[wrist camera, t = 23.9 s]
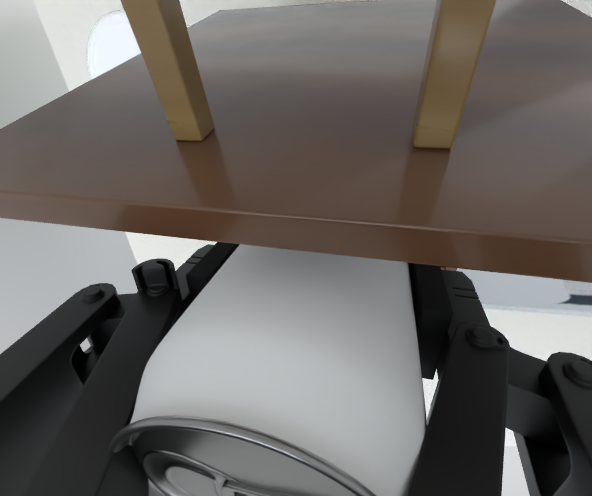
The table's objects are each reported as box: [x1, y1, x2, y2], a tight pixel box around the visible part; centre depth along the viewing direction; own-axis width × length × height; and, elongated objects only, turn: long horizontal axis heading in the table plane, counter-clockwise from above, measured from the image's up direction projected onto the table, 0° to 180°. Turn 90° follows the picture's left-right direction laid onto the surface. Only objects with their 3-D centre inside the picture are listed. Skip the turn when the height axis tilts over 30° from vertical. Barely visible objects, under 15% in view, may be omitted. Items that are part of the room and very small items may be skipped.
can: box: [109, 244, 427, 496], centre depth 11 cm, size 6×6×12 cm
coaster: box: [87, 10, 141, 80], centre depth 30 cm, size 10×10×4 cm
